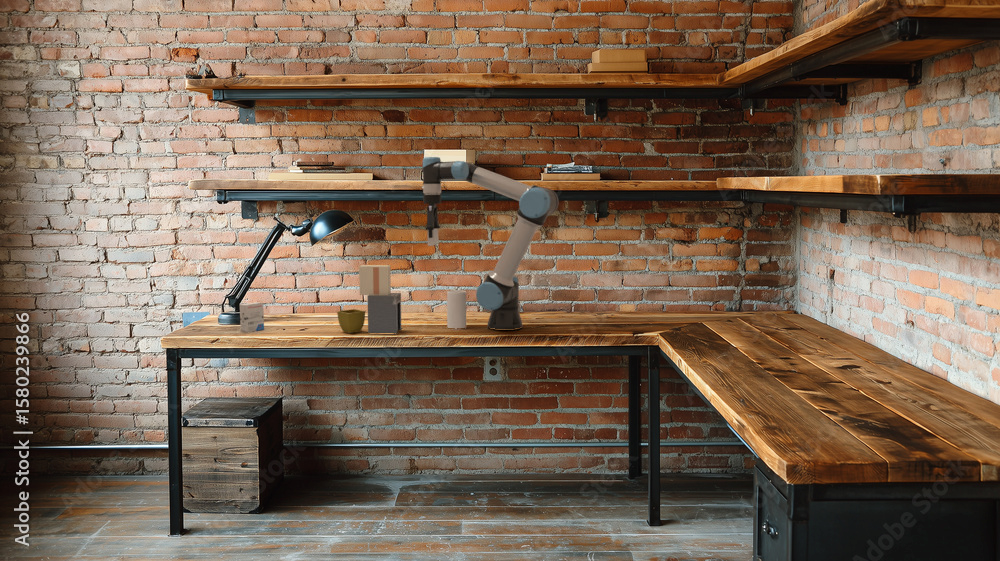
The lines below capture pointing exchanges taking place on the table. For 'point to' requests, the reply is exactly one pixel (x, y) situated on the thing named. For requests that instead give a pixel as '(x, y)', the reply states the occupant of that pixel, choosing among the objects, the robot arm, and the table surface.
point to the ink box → (251, 317)
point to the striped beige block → (375, 279)
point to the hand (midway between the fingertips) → (433, 244)
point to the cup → (456, 309)
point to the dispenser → (384, 313)
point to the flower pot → (351, 320)
